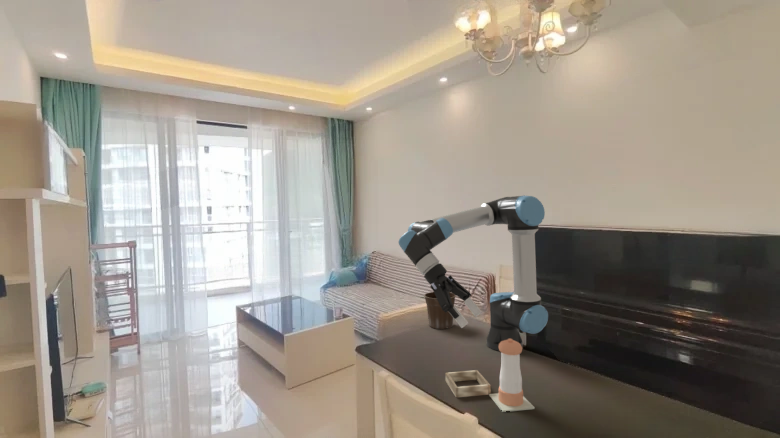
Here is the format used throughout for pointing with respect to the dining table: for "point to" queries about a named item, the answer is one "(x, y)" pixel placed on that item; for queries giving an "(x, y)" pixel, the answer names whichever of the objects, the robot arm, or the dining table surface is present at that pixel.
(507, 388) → the pepper shaker
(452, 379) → the birch surround
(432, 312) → the plant pot
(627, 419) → the dining table surface
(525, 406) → the sage pad
